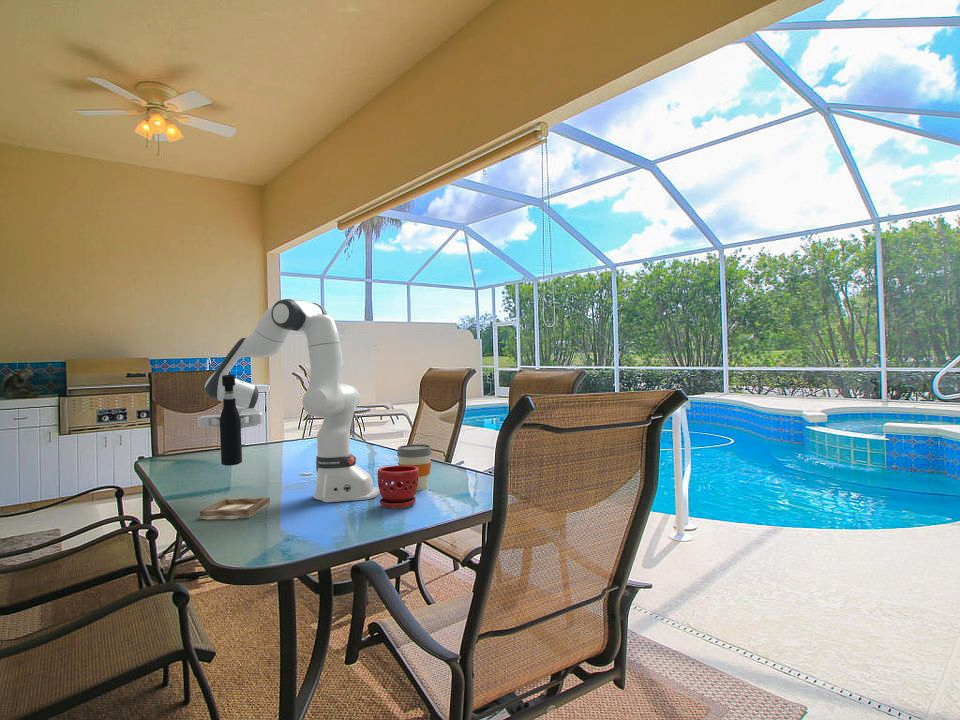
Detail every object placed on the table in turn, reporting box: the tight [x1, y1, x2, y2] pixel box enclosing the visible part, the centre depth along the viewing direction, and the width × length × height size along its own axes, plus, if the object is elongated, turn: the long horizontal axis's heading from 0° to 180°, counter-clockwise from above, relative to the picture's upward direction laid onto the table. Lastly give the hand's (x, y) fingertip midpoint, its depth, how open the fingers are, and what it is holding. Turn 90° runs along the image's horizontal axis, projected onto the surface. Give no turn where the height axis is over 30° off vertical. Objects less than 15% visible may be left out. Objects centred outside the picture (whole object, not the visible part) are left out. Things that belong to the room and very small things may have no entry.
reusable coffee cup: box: [396, 443, 433, 492], centre depth 192 cm, size 13×13×15 cm
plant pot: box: [377, 465, 419, 510], centre depth 169 cm, size 13×13×12 cm
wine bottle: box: [219, 374, 243, 467], centre depth 176 cm, size 6×6×30 cm
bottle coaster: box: [199, 497, 271, 520], centre depth 166 cm, size 15×15×2 cm
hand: (230, 421), depth 175 cm, fingers closed on wine bottle, 6 cm apart
